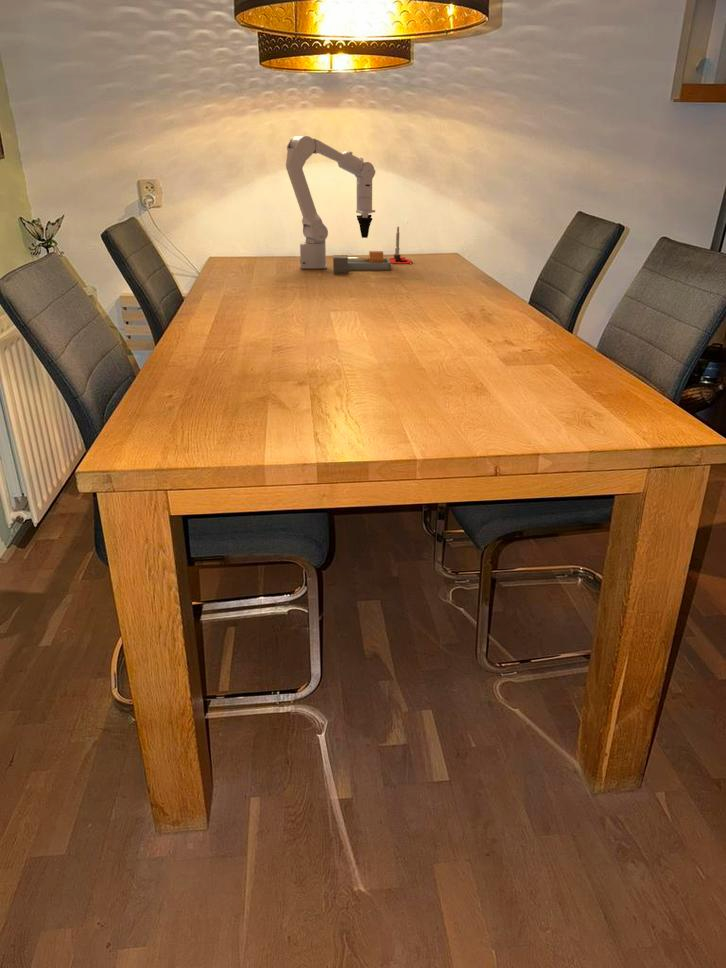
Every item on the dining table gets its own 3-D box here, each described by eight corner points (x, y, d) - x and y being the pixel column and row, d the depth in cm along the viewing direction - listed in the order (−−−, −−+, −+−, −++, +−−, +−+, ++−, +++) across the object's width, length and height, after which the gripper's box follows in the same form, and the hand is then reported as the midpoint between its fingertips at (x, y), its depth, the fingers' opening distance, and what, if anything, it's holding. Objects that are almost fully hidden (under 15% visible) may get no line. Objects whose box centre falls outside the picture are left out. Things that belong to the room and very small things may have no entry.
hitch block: (333, 273, 260) (333, 258, 257) (333, 270, 266) (333, 255, 264) (347, 273, 260) (347, 258, 258) (347, 270, 266) (347, 255, 264)
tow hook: (415, 265, 280) (406, 260, 288) (417, 229, 274) (407, 225, 282) (395, 266, 278) (386, 261, 285) (396, 230, 272) (387, 226, 279)
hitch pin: (342, 267, 270) (341, 252, 268) (342, 265, 273) (341, 251, 271) (383, 266, 270) (383, 252, 268) (382, 265, 273) (382, 251, 271)
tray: (335, 270, 267) (334, 263, 266) (335, 265, 277) (335, 258, 275) (390, 270, 267) (390, 263, 266) (388, 265, 277) (388, 258, 276)
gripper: (376, 199, 264) (375, 238, 270) (374, 195, 277) (374, 233, 283) (356, 199, 264) (356, 238, 270) (355, 195, 277) (355, 234, 283)
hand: (364, 236), depth 276 cm, fingers open, 7 cm apart
